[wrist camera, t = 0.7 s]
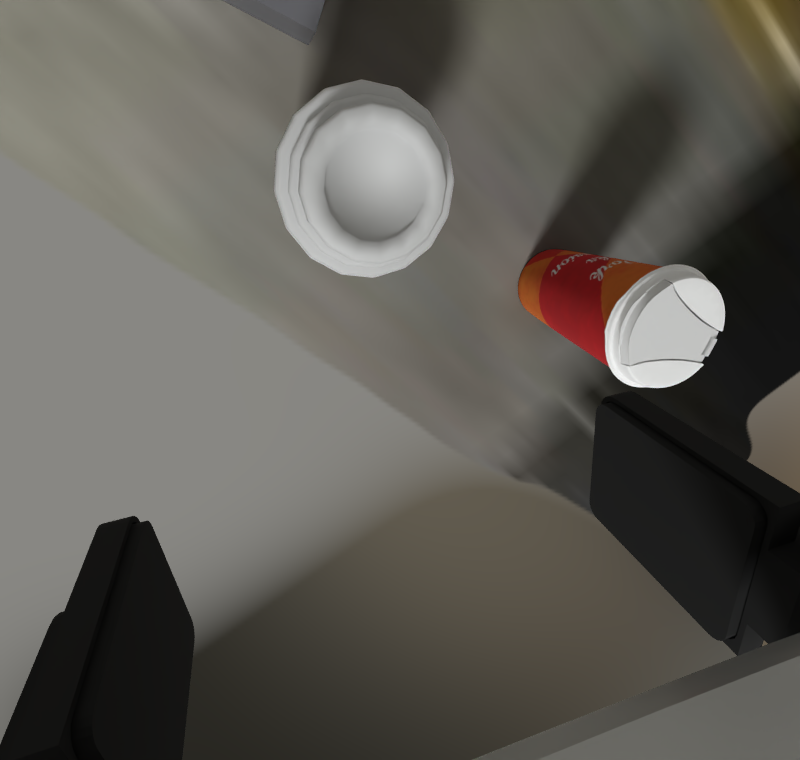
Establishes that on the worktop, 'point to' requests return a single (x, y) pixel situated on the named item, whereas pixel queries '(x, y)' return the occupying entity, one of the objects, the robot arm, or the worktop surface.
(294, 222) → the coffee cup
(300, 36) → the rocker switch panel
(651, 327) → the paper cup
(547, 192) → the worktop surface
